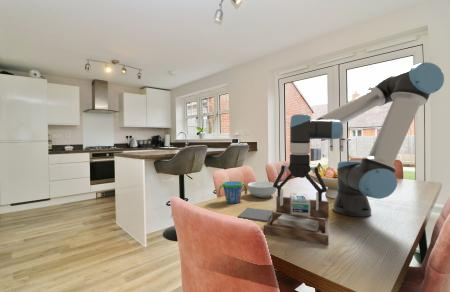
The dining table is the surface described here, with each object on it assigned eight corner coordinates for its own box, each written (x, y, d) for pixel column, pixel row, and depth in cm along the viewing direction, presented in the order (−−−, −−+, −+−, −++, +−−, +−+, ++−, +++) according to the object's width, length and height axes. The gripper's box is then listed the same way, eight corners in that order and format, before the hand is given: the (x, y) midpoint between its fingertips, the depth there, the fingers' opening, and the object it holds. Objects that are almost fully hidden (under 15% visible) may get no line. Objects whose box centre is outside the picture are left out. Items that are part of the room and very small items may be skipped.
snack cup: (220, 205, 116) (219, 185, 115) (217, 200, 126) (216, 181, 126) (249, 203, 118) (249, 184, 118) (244, 198, 129) (244, 180, 128)
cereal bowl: (256, 191, 146) (256, 180, 146) (281, 194, 136) (281, 183, 136) (242, 197, 132) (242, 184, 132) (269, 201, 122) (268, 188, 122)
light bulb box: (310, 228, 85) (310, 200, 85) (292, 227, 87) (292, 199, 86) (306, 218, 96) (306, 193, 96) (289, 217, 97) (289, 192, 97)
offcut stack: (321, 235, 80) (321, 220, 80) (318, 242, 75) (318, 226, 74) (276, 227, 88) (276, 213, 88) (271, 232, 83) (271, 218, 83)
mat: (274, 212, 105) (274, 210, 105) (267, 221, 93) (267, 220, 93) (247, 208, 110) (247, 207, 110) (237, 217, 98) (237, 216, 98)
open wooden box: (328, 220, 94) (328, 201, 93) (328, 244, 72) (328, 219, 72) (276, 213, 102) (276, 196, 102) (263, 234, 81) (263, 211, 81)
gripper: (334, 154, 89) (333, 208, 89) (270, 152, 99) (269, 200, 100) (334, 155, 82) (333, 214, 83) (266, 153, 92) (265, 205, 93)
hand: (298, 207), depth 91 cm, fingers open, 13 cm apart
